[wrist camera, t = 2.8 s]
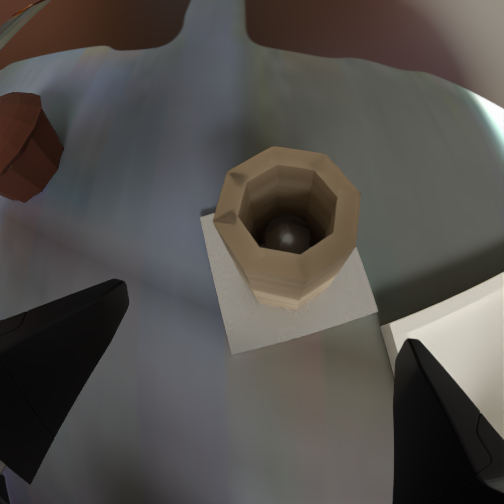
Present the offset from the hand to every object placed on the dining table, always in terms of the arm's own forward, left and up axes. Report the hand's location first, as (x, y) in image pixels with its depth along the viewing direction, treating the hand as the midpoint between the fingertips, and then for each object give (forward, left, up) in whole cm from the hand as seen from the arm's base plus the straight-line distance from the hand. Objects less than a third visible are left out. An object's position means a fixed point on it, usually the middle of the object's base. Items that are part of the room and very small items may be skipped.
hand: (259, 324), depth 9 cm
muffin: (-21, +23, -12) cm, 33 cm away
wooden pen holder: (+2, +5, -11) cm, 12 cm away
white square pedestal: (+2, +5, -12) cm, 13 cm away
